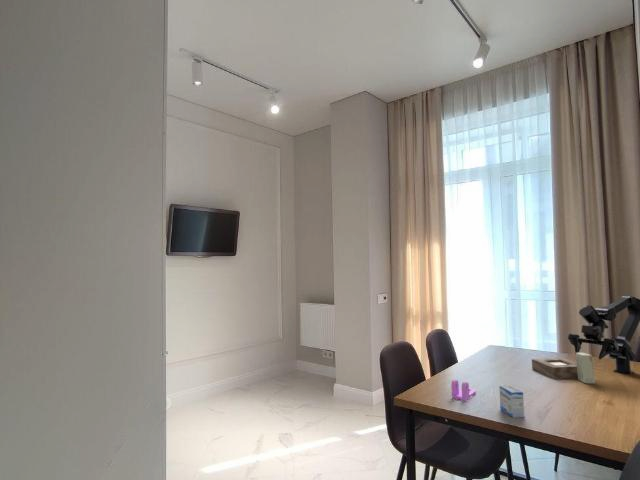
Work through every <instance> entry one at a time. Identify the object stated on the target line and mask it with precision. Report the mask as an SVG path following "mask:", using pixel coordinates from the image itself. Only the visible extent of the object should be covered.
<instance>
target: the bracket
mask: <svg viewBox="0 0 640 480" xmlns="http://www.w3.org/2000/svg"><path fill="white" fill-rule="evenodd" d="M450 385H451V399H453V398H455V399H454V400H458V399H460V400H459V401H462V400H464V402H467V401H468V400H470V399H471V398H472V397H471V396H473V395H474V394H475V395H476V394H477V391H476V389H474V388H473V387H470V386H469V383H468V382H467V381H462V383H461V388H460V387H459V381H458V380H456V379H452V381H451V384H450ZM475 395H474V396H475ZM474 396H473V397H474ZM470 397H471V398H470ZM469 398H470V399H469ZM467 399H468V400H467ZM466 400H467V401H466Z"/></svg>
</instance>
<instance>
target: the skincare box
mask: <svg viewBox="0 0 640 480" xmlns="http://www.w3.org/2000/svg"><path fill="white" fill-rule="evenodd" d="M575 359H576V361H575V362H576V363H577V372H578V377H577V379H578V380H579V381H580V382H582V383H584V384H596V381H595V380H596V378H595V368H594V360H593V354H590V353H587V352H579V353H576V354H575Z"/></svg>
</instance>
